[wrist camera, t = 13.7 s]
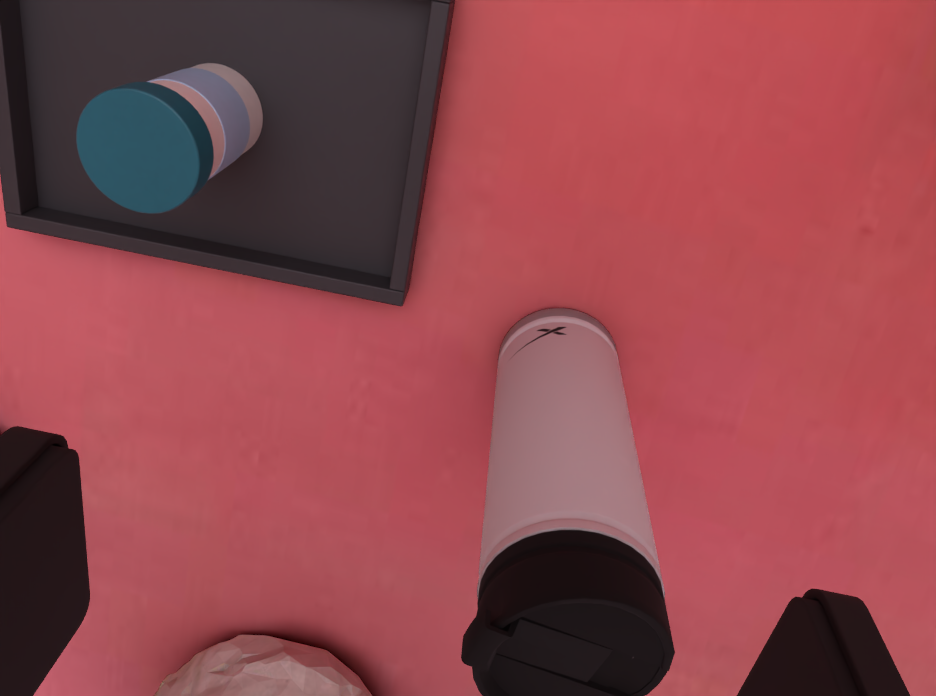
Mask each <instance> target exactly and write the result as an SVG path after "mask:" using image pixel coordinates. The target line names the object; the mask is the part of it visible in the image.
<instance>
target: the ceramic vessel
mask: <svg viewBox="0 0 936 696" xmlns="http://www.w3.org/2000/svg"><path fill="white" fill-rule="evenodd" d="M154 696H372V694H371V693H370V692H369V691H368V689H367V688H366V687H365V685H364V684H363V682H362V681H361V679H360V678H359V676H358V675H356V674H355V673H354V672H353V671H352V670H350V669H349V668H348V667H347V666H345V665H344V664H343V663H342V662H341V661H339V660H338V659H337V658H336V657H335V656H333V655H332V654H331V653H330V652H328V651H327V650H324V649H320V648H316V647H312V646H308V645H304V644H300V643H296V642H291V641H287V640H283V639H279V638H275V637H270V636H266V635H238V636H237V637H235V638H233V639H231V640H228V641H225V642H221V643H218V644H217V645H214V646H211V647H209V648H207V649H205V650H203V651H201V652H199V653H197V654H195V655H194V657H193V658H192V659H191V660H190V661H189V662H187V663H186V664H184V665H183V666H182V667H181V668H180V669H179V670H178V671H177V672H176V673H173V674H169V675H167V677H166V678H165V679H164V680H163V681H162V683H161V685H160V687H159V689H158V691H157V692H156V693H155V695H154Z"/></svg>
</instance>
